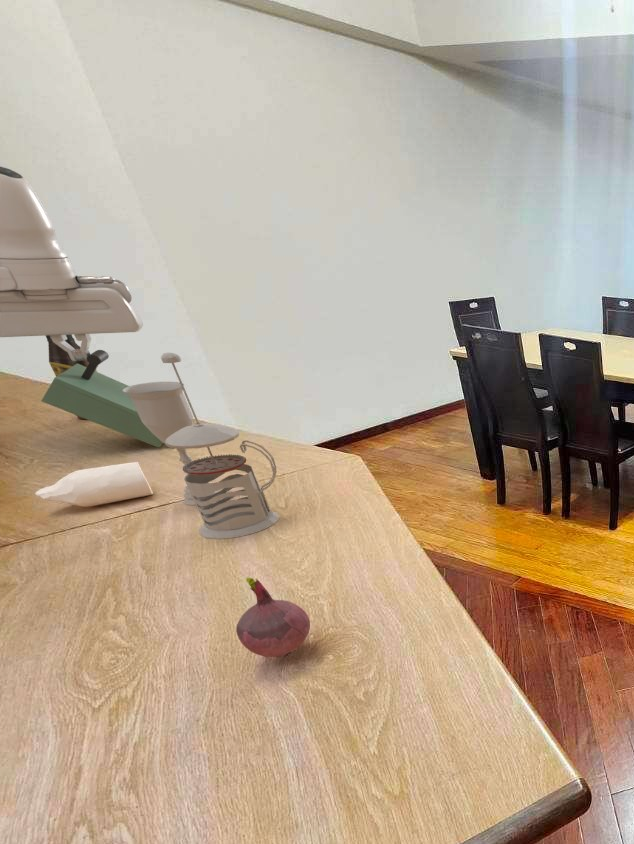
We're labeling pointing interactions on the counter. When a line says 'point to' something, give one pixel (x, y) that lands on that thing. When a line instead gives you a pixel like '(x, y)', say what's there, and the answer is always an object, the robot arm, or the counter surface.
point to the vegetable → (272, 625)
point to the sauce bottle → (62, 357)
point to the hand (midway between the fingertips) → (82, 360)
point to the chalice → (164, 414)
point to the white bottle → (99, 485)
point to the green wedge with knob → (98, 399)
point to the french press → (222, 515)
